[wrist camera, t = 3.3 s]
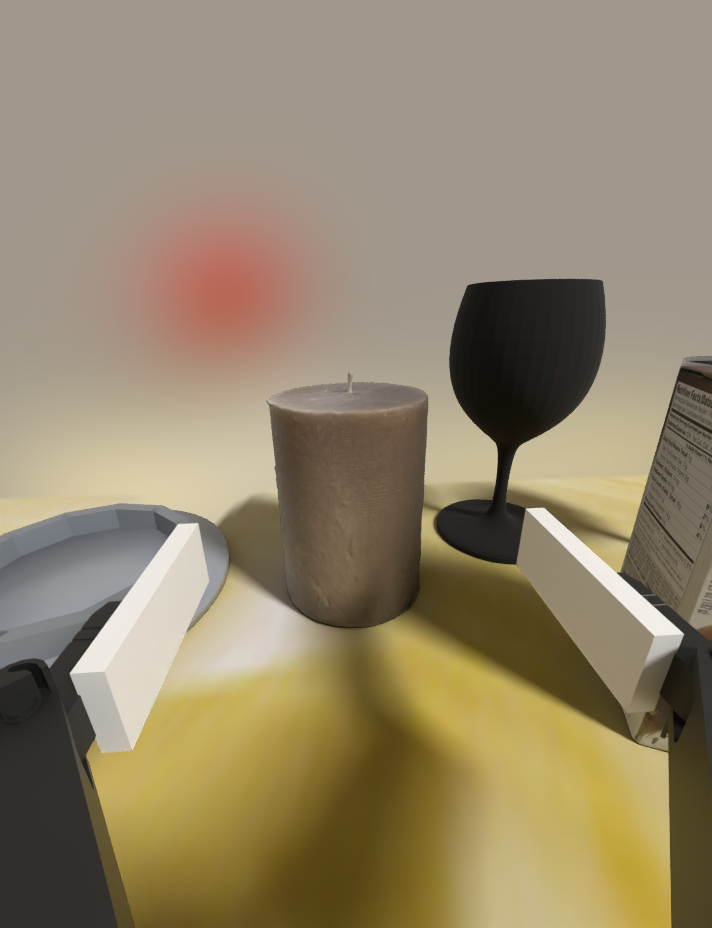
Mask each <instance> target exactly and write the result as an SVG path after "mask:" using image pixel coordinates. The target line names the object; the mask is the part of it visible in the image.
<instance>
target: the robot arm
mask: <svg viewBox="0 0 712 928" xmlns="http://www.w3.org/2000/svg"><path fill="white" fill-rule="evenodd" d="M516 565H517V566H518V568H519V569H520V570H521V572H522V573H523V574H524V576H525V577H526V578H527V580H528V581H529V582H530V584H531V585H532V586H533V588H534V589H535V590H536V592H537V593H538V594H539V596H540V597H541V599H542V600H543V601H544V603H545V604H546V605H547V607H548V608H549V609H550V611H551V612H552V613H553V615H554V616H555V617H556V619H557V620H558V621H559V623H560V624H561V625H562V627H563V628H564V629H565V631H566V632H567V633H568V635H569V636H570V637H571V639H572V640H573V641H574V643H575V644H576V645H577V647H578V648H579V649H580V651H581V652H582V653H583V655H584V656H585V657H586V659H587V660H588V662H589V663H590V664H591V666H592V667H593V668H594V670H595V671H596V672H597V674H598V675H599V676H600V678H601V679H602V680H603V682H604V683H605V684H606V686H607V687H608V688H609V690H610V691H611V692H612V694H613V695H614V696H615V698H616V699H617V700H618V702H619V703H620V704H621V706H622V707H623V708H624V710H625V711H626V712H627V713H636V712H649V711H654V709H655V707H656V704H657V702H658V699H659V697H660V695H661V696H662V697H663V698H664V700H665V701H666V702H667V703H668V704H669V705H670V707H671V710H670V712H669V715H668V717H667V720H666V722H665V724H664V727H663V729H662V732H661V735H660V737H662V738H664V739H665V738H666V736H667V733H668V756H669V812H670V868H671V924H672V928H712V640H708V639H706V638H705V637H704V636H703V635H702V634H701V633H700V632H698V631H697V630H696V629H695V628H694V627H693V626H691V625H690V624H689V623H688V622H687V621H686V620H684V619H683V618H682V617H681V616H680V615H679V614H677V613H676V612H675V611H674V610H673V609H672V608H670V607H669V606H666V605H665V602H663V601H662V600H661V599H660V598H659V597H658V596H655V595H654V593H653V592H652V591H651V590H649V589H648V588H647V587H646V586H645V585H644V584H642V583H641V582H640V581H638V580H636V579H634V578H633V577H631V576H629V575H627V574H625V573H624V572H620V573H616V572H615V571H614V570H612V569H611V568H610V567H609V566H608V565H607V564H606V563H605V562H604V561H602V560H601V559H600V558H599V557H598V556H597V555H596V554H595V553H594V552H592V551H591V550H590V549H589V548H588V547H587V546H586V545H585V544H584V543H582V542H581V541H580V540H579V539H578V538H577V537H576V536H575V535H574V534H572V533H571V532H570V531H569V530H568V529H567V528H566V527H565V526H564V525H563V524H561V523H560V522H559V521H558V520H557V519H556V518H555V517H554V516H553V515H551V514H550V513H549V512H548V511H547V510H546V509H545V508H527V509H526V510H525V516H524V522H523V528H522V534H521V540H520V546H519V552H518V557H517V563H516ZM208 583H209V577H208V572H207V566H206V561H205V556H204V551H203V545H202V540H201V535H200V530H199V525H198V523H190V524H178V525H177V526H176V528H175V529H174V530H173V532H172V533H171V535H170V536H169V537H168V539H167V540H166V541H165V543H164V544H163V546H162V547H161V548H160V550H159V551H158V553H157V554H156V555H155V557H154V558H153V559H152V561H151V562H150V564H149V565H148V566H147V568H146V569H145V570H144V572H143V573H142V575H141V576H140V577H139V579H138V580H137V581H136V583H135V584H134V586H133V587H132V588H131V590H130V591H129V592H128V594H127V595H126V597H125V598H124V599H123V601H110V602H108V603H106V604H105V605H104V606H102V607H101V608H100V609H98V610H97V611H96V612H94V613H93V614H92V615H91V616H90V618H89V619H88V620H87V621H86V623H85V624H84V625H83V626H82V628H81V631H78V633H77V634H76V635H75V637H74V638H73V639H72V642H71V643H69V644H68V645H67V647H66V648H65V649H64V650H63V652H62V653H61V654H60V655H59V657H58V658H57V659H56V660H55V662H54V663H53V664H52V665H51V667H50V668H49V667H48V665H47V664H46V663H45V661H44V660H41V659H36V658H32V659H25V660H21V661H18V662H15V663H12V664H10V665H7V666H5V667H4V668H2V669H0V928H135V926H134V922H133V919H132V915H131V911H130V908H129V904H128V901H127V897H126V894H125V890H124V886H123V883H122V879H121V876H120V872H119V869H118V865H117V861H116V858H115V854H114V851H113V847H112V844H111V840H110V836H109V833H108V829H107V826H106V822H105V819H104V815H103V811H102V808H101V804H100V801H99V797H98V794H97V790H96V786H95V783H94V779H93V776H92V772H91V769H90V765H89V762H88V759H87V757H86V753H87V752H88V750H89V748H90V746H91V744H92V743H93V741H94V739H96V741H97V744H98V746H99V749H100V751H101V753H107V752H120V751H132V750H133V748H134V746H135V744H136V741H137V739H138V737H139V735H140V733H141V730H142V728H143V726H144V724H145V722H146V719H147V717H148V715H149V713H150V710H151V708H152V706H153V704H154V702H155V699H156V697H157V695H158V693H159V691H160V688H161V686H162V684H163V682H164V680H165V677H166V675H167V673H168V671H169V669H170V666H171V664H172V662H173V660H174V658H175V655H176V653H177V651H178V649H179V647H180V644H181V642H182V640H183V638H184V636H185V633H186V631H187V629H188V627H189V625H190V622H191V620H192V618H193V616H194V613H195V611H196V609H197V607H198V605H199V602H200V600H201V598H202V596H203V594H204V591H205V589H206V587H207V585H208Z"/></svg>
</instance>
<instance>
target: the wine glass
mask: <svg viewBox="0 0 712 928" xmlns="http://www.w3.org/2000/svg"><path fill="white" fill-rule="evenodd" d="M605 313H606V310H605V295H604V287H603V281H601V280H592V279H538V280H513V281H496V282H484V283H476V284H471V285H468V286H467V288H466V291H465V294H464V296H463V299H462V302H461V305H460V308H459V311H458V314H457V317H456V321H455V324H454V329H453V333H452V339H451V346H450V357H449V364H450V365H449V366H450V377H451V382H452V386H453V390H454V393H455V395H456V398H457V400H458V402H459V404H460V406H461V407H462V409H463V410H464V411H465V413H466V414H467V416H468V417H469V418H470V419H471V420H472V421H473V422H474V424H476V425H477V426H478V427H479V428H480V429H481V430H482V431H483V432H484V433H485V434H486V435H488V436H489V437H490V438H491V439H492V440H493V441H494V442H495V443H496V445H497V449H498V467H497V478H496V485H495V491H494V496H493V500H480V499H476V500H465V501H460V502H456V503H453V504H451V505H449V506H447V507H445V508H444V509H443V510H442V511H441V512H440V513H439V515H438V518H437V527H438V531H439V532H440V534H441V536H442V537H443V538H444V539H445V540H446V541H447V542H448V543H450V544H451V545H452V546H454V547H455V548H457V549H459V550H460V551H462V552H464V553H467V554H469V555H471V556H474V557H477V558H480V559H483V560H487V561H492V562H497V563H504V564H516V563H517V557H518V552H519V546H520V540H521V534H522V528H523V522H524V516H525V510H526V508H524V507H521V506H518V505H514V504H511V503H506V493H507V486H508V480H509V474H510V470H511V465H512V461H513V458H514V455H515V452H516V450H517V448H518V447H519V446H520V445H521V444H523V443H525V442H527V441H529V440H531V439H533V438H535V437H537V436H539V435H541V434H543V433H544V432H546V431H548V430H550V429H551V428H553V427H554V426H556V425H557V424H559V423H560V422H561V421H563V420H564V419H565V418H566V417H567V416H568V415H569V414H571V413H572V412H573V411H574V410H575V408H577V406H578V405H579V404H580V403H581V402H582V400H583V399H584V398H585V396H586V394H587V393H588V391H589V390H590V388H591V386H592V384H593V382H594V380H595V377H596V375H597V372H598V369H599V366H600V362H601V358H602V354H603V348H604V342H605V328H606V314H605Z"/></svg>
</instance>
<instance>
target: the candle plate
mask: <svg viewBox="0 0 712 928" xmlns="http://www.w3.org/2000/svg"><path fill="white" fill-rule="evenodd" d="M190 523H198V525H199V530H200V535H201V540H202V545H203V551H204V556H205V561H206V566H207V572H208V577H209V583H208V585H207V587H206V589H205V591H204V594H203V596H202V598H201V600H200V602H199V605H198V607H197V609H196V611H195V613H194V616H193V618H192V620H191V622H190V625H189V627H188V629H187V631H188V630H190V629H191V628H192V627H193V626H194V625H195V624H196V623H197V622H198V621H199V620H200V618H201V617H202V616H203V615H204V614H205V613H206V612H207V611H208V609H209V608H210V607H211V605H212V604H213V603H214V601H215V600H216V599H217V597H218V595H219V593H220V592H221V590H222V588H223V586H224V584H225V581H226V578H227V575H228V571H229V564H230V562H229V552H228V546H227V542H226V539H225V536H224V535H223V533H222V532H221V530H220V529H219V528H218V527H217V526H216V525H215V524H213V523H212V522H210V521H208V520H207V519H205V518H203V517H200V516H198V515H195V514H191V513H187V512H182V511H177V510H171V509H168V508H167V507H165V506H161V505H141V504H114V505H108V506H103V507H97V508H91V509H85V510H79V511H73V512H67V513H63V514H60V515H57V516H55V517H52V518H49V519H46V520H43V521H40V522H37V523H34V524H31V525H28V526H25V527H23V528H20V529H17V530H14V531H11V532H8V533H5V534H3V535H1V536H0V669H2V668H4V667H5V666H7V665H10V664H12V663H15V662H18V661H21V660H25V659H32V658H36V659H41V660H44V661H45V663H46V664H47V665H48V667H49V668H50V667H51V665H52V664H53V663H54V662H55V660H56V659H57V658H58V657H59V655H60V654H61V653H62V652H63V650H64V649H65V648H66V647H67V645H68V644H69V643H71V642H72V639H73V638H74V637H75V635H76V634H77V633H78V631H81V628H82V626H83V625H84V624H85V623H86V621H87V620H88V619H89V618H90V616H91V615H92V614H93V613H94V612H96V611H97V610H98V609H100V608H101V607H102V606H104V605H105V604H106V603H108V602H110V601H123V599H124V598H125V597H126V595H127V594H128V592H129V591H130V590H131V588H132V587H133V586H134V584H135V583H136V581H137V580H138V579H139V577H140V576H141V575H142V573H143V572H144V570H145V569H146V568H147V566H148V565H149V564H150V562H151V561H152V559H153V558H154V557H155V555H156V554H157V553H158V551H159V550H160V548H161V547H162V546H163V544H164V543H165V541H166V540H167V539H168V537H169V536H170V535H171V533H172V532H173V530H174V529H175V528H176V526H177V525H178V524H190ZM187 631H186V632H187Z"/></svg>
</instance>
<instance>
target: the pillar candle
mask: <svg viewBox="0 0 712 928" xmlns="http://www.w3.org/2000/svg"><path fill="white" fill-rule="evenodd" d="M267 403H268V404H269V408H270V416H271V427H272V436H273V446H274V454H275V463H276V465H275V471H276V481H277V489H278V500H279V509H280V522H281V532H282V540H283V550H284V561H285V575H286V582H287V589H288V593H289V595H290V597H291V601H292V602H293V604H294V605H295V606H296V607H297V608H298V609H299V610H300V611H301V612H302V613H304V614H305V615H306V616H310V617H311V618H312V619H314V620H316V621H319V622H321V623H326V624H329V625H335V626H346V627H369V626H375V625H377V624H382V623H385V622H387V621H389V620H391V619H394V618H396V617H397V615H398V616H399V615H400V614H402V613H403V612H404V611H406V610H407V609H408V608H409V607H410V606H411V605H412V603H413V601H414V600H415V598H416V597H417V595H418V592H419V589H420V585H419V571H418V570H419V565H420V564H419V561H420V556H421V520H422V508H423V499H424V474H425V473H424V472H425V453H426V437H427V414H428V395H427V394H426V393H425V392H424V391H423V390H420V389H418V388H414V387H409V386H403V385H396V384H389V383H372V382H371V383H364V382H354V383H352V373H350V372H348V383H335V384H321V385H314V386H307V387H300V388H294V389H290V390H286V391H283V392H281V393H278V394H275V395H273V396H272V397H271V398H270V399H269V401H267Z"/></svg>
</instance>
